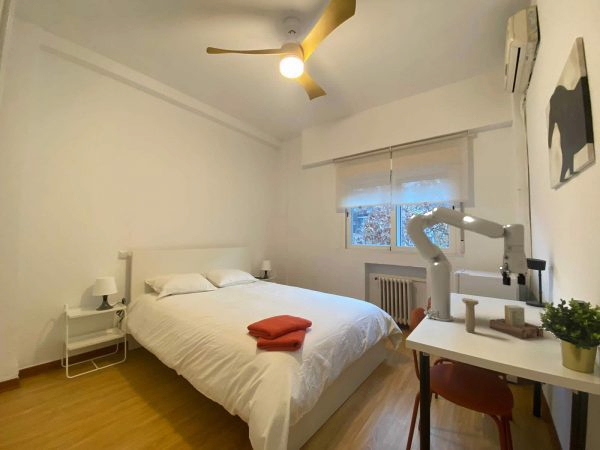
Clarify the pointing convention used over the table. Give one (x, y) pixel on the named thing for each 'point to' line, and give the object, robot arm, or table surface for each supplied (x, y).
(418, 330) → the table surface
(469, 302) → the handle
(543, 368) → the table surface
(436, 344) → the table surface
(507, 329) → the jig
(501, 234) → the robot arm
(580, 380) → the table surface
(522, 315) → the skincare box
